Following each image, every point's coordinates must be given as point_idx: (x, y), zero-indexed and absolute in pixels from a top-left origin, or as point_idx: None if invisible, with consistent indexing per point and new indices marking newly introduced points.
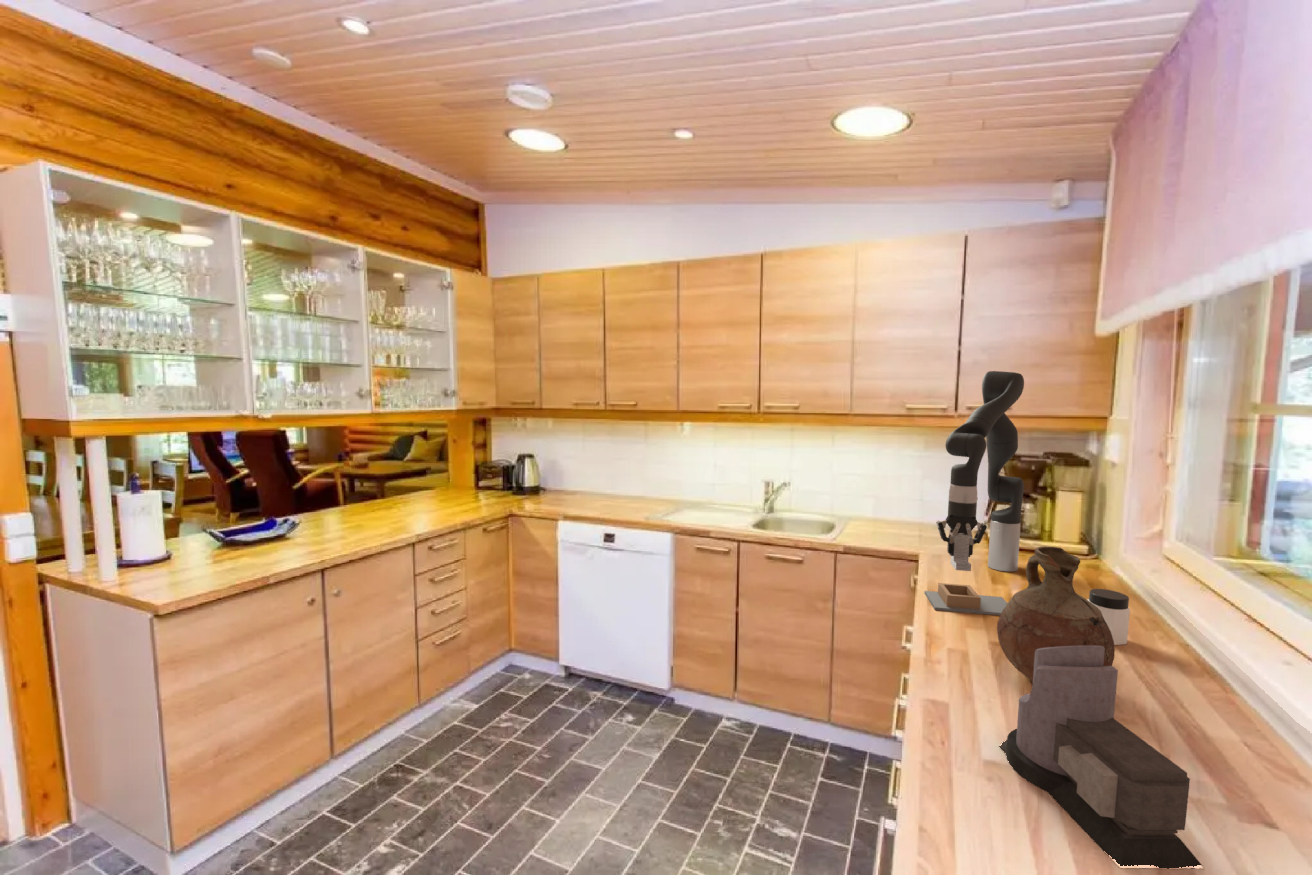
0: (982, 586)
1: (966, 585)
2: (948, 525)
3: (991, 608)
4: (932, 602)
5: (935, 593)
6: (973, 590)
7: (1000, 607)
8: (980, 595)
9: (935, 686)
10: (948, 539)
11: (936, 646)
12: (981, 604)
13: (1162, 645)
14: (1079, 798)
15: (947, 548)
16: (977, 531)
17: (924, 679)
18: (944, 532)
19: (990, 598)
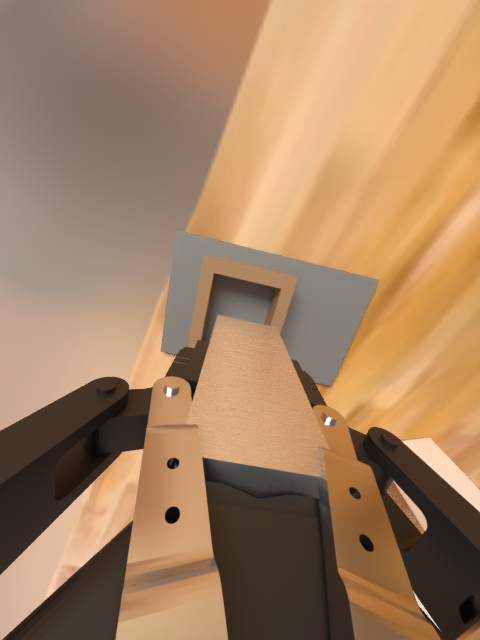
0: (405, 156)
1: (286, 281)
2: (31, 618)
3: (293, 356)
4: (165, 322)
5: (201, 254)
6: (281, 324)
7: (319, 350)
8: (325, 270)
9: (82, 550)
10: (138, 439)
11: (112, 479)
12: (285, 333)
13: (476, 475)
14: None
15: (175, 359)
16: (458, 552)
17: (72, 541)
18: (42, 522)
19: (338, 292)
